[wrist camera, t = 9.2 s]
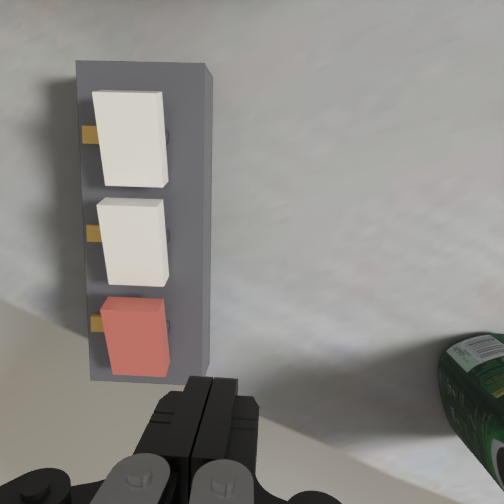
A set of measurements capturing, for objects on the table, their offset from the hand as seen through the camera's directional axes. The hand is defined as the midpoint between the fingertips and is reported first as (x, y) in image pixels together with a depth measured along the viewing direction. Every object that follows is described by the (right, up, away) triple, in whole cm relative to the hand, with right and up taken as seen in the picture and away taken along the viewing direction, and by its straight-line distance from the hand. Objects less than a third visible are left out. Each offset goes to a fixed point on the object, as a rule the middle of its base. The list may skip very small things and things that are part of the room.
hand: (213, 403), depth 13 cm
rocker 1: (-7, +13, +16) cm, 21 cm away
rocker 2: (-7, +6, +17) cm, 19 cm away
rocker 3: (-7, -1, +18) cm, 20 cm away
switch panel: (-7, +7, +21) cm, 23 cm away
